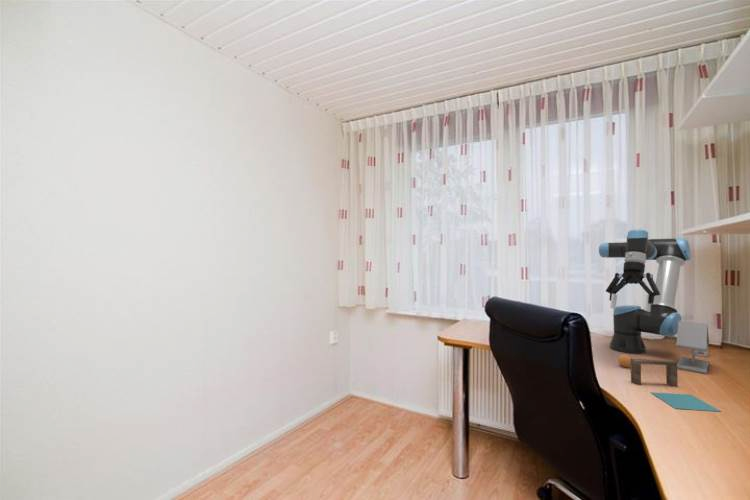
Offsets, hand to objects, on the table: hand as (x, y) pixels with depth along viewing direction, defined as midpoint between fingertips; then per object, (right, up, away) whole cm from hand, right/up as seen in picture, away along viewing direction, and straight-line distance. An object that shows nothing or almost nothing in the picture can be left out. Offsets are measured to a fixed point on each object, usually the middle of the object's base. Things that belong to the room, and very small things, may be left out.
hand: (629, 309), depth 147 cm
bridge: (-1, -26, -15) cm, 30 cm away
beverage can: (+52, -27, +22) cm, 62 cm away
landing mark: (-4, -26, -30) cm, 41 cm away
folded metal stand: (+32, -27, +5) cm, 42 cm away
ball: (+2, -24, +5) cm, 24 cm away
